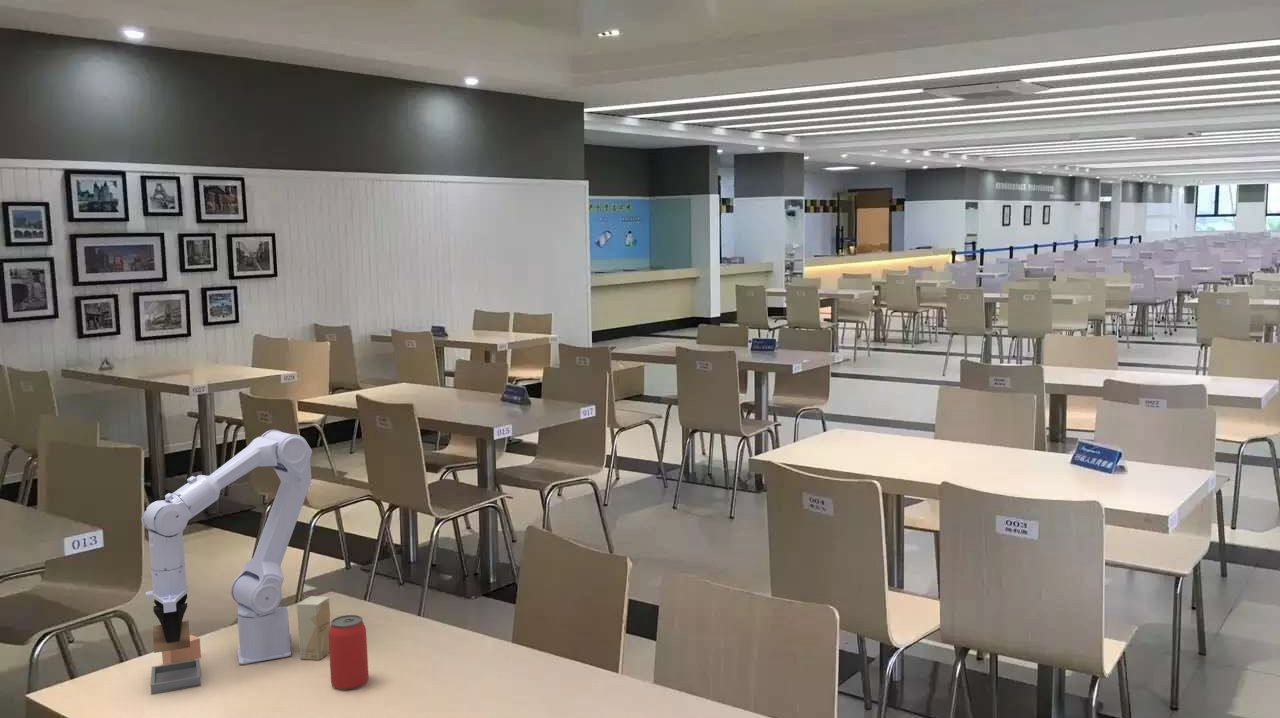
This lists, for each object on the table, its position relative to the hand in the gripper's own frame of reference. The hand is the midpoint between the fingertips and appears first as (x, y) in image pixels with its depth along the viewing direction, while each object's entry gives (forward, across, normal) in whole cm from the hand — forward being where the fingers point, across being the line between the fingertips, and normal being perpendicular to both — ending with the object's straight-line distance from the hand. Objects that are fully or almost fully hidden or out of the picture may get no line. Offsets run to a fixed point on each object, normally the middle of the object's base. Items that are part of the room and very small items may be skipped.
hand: (173, 638), depth 190 cm
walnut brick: (+2, 0, 0) cm, 2 cm away
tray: (+8, 0, 0) cm, 8 cm away
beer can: (+8, +16, +29) cm, 34 cm away
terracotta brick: (+8, -10, +1) cm, 13 cm away
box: (+8, -1, +25) cm, 26 cm away
